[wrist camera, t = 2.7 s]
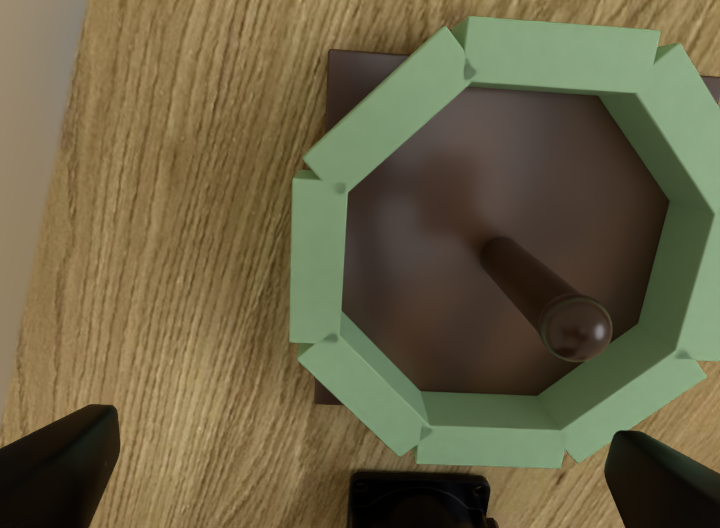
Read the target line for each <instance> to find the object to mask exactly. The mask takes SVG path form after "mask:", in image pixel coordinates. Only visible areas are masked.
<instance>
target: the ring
mask: <svg viewBox="0 0 720 528" xmlns="http://www.w3.org/2000/svg"><path fill="white" fill-rule="evenodd" d="M660 33H661V31H659V30H649V29H636V28H623V27H610V26H597V25H583V24H570V23H557V22H544V21H531V20H517V19H504V18H491V17H478V16H468V17H467V18H466V19H464V20H463V21H462V22H460V23H459V24H458V25H456V26H455V27H454V28H452V30H451V32H450V31H449V29H448V28H447V27H446V26H443V27H441V28H440V29H439V30H438V31H437V32H435V33H434V34H433V35H432V36H431V37H430V38H429V39H427V40H426V41H425V42H424V43H423V44H422V45H421V46H420V47H419V48H418V49H417V50H416V51H415V52H413V53H412V54H411V55H410V56H409V57H408V58H407V59H406V60H405V61H404V62H403V63H402V64H401V65H399V66H398V67H397V68H396V69H395V70H394V71H393V72H392V73H391V74H390V75H389V76H388V77H387V78H385V79H384V80H383V81H382V82H381V83H380V84H379V85H378V86H377V87H376V88H375V89H374V90H373V91H371V92H370V93H369V94H368V95H367V96H366V97H365V98H364V99H363V100H362V101H361V102H360V103H359V104H357V105H356V106H355V107H354V108H353V109H352V110H351V111H350V112H349V113H348V114H347V115H346V116H345V117H344V118H342V119H341V120H340V121H339V122H338V123H337V124H336V125H335V126H334V127H333V128H332V129H331V130H330V131H328V132H327V133H326V134H325V135H324V136H323V137H322V138H321V139H320V140H319V141H318V142H317V143H316V144H314V145H313V146H312V147H311V148H310V149H309V150H308V151H307V152H306V153H305V154H304V156H303V157H302V159H303V161H304V162H305V163H306V164H307V165H308V166H309V167H310V169H311V170H299V171H298V172H297V174H296V175H295V176H294V177H293V179H292V204H291V253H290V303H289V342H290V343H299V348H298V353H297V358H296V359H297V361H299V362H300V363H301V364H302V365H303V366H304V367H305V368H306V369H307V370H308V371H309V372H310V373H311V374H312V375H313V376H314V377H315V378H316V379H317V380H318V381H320V382H321V383H322V384H323V385H324V386H325V387H326V388H327V389H328V390H329V391H330V392H331V393H332V394H333V395H334V396H335V397H336V398H337V399H338V400H339V401H341V402H342V403H343V404H344V405H345V406H346V407H347V408H348V409H349V410H350V411H351V412H352V413H353V414H354V415H355V416H356V417H357V418H358V419H359V420H361V421H362V422H363V423H364V424H365V425H366V426H367V427H368V428H369V429H370V430H371V431H372V432H373V433H374V434H375V435H376V436H377V437H378V438H379V439H380V440H382V441H383V442H384V443H385V444H386V445H387V446H388V447H389V448H390V449H391V450H392V451H393V452H394V453H395V454H396V455H397V456H398V457H401V456H403V455H404V454H405V453H407V452H408V451H409V450H411V449H413V454H414V459H415V463H416V464H431V465H461V466H491V467H522V468H552V469H560V468H561V465H562V460H563V456H564V452H565V450H566V451H567V452H568V454H569V455H570V456H571V457H572V458H573V459H574V460H575V461H576V462H577V463H580V462H582V461H583V460H585V459H586V458H588V457H589V456H590V455H592V454H593V453H595V452H596V451H598V450H599V449H601V448H602V447H604V446H605V445H607V444H608V443H610V442H611V441H612V438H613V436H614V434H615V433H616V432H617V431H619V430H629V429H631V428H632V427H634V426H635V425H636V424H638V423H639V422H641V421H642V420H644V419H645V418H647V417H648V416H650V415H651V414H653V413H654V412H656V411H657V410H659V409H660V408H662V407H663V406H665V405H666V404H668V403H669V402H671V401H672V400H674V399H675V398H677V397H678V396H680V395H681V394H682V393H684V392H685V391H687V390H688V389H690V388H691V387H693V386H694V385H696V384H697V383H699V382H700V381H702V380H703V379H705V378H706V377H707V376H706V374H705V373H704V372H703V370H702V369H701V367H700V366H699V365H698V363H697V362H696V361H695V360H697V361H719V360H720V108H719V106H718V105H717V103H716V101H715V100H714V98H713V96H712V95H711V93H710V92H709V90H708V88H707V87H706V85H705V83H704V82H703V80H702V78H701V77H700V75H699V73H698V72H697V70H696V68H695V67H694V65H693V64H692V62H691V60H690V59H689V57H688V55H687V54H686V52H685V50H684V49H683V47H682V45H681V44H680V43H675V44H670V45H665V46H660V47H657V46H658V41H659V37H660ZM466 87H481V88H496V89H510V90H525V91H539V92H554V93H568V94H583V95H597V96H599V98H600V99H601V101H602V102H603V104H604V105H605V107H606V108H607V110H608V111H609V113H610V114H611V116H612V117H613V118H614V120H615V121H616V123H617V124H618V126H619V127H620V129H621V130H622V132H623V133H624V135H625V136H626V138H627V139H628V141H629V142H630V143H631V145H632V146H633V148H634V149H635V151H636V152H637V154H638V155H639V157H640V158H641V160H642V161H643V163H644V164H645V166H646V167H647V169H648V170H649V171H650V173H651V174H652V176H653V177H654V179H655V180H656V182H657V183H658V185H659V186H660V188H661V189H662V191H663V192H664V194H665V195H666V196H667V198H668V199H669V201H670V202H669V206H668V210H667V214H666V217H665V221H664V225H663V229H662V233H661V237H660V241H659V244H658V248H657V252H656V256H655V260H654V264H653V268H652V271H651V275H650V279H649V283H648V287H647V291H646V295H645V298H644V302H643V306H642V310H641V314H640V318H639V322H638V324H636V325H635V326H634V327H632V328H631V329H630V330H628V331H627V332H625V333H624V334H623V335H621V336H620V337H618V338H617V339H616V340H614V341H613V342H611V343H610V344H609V345H608V346H607V348H606V349H605V350H604V351H603V352H602V353H601V354H600V355H599V356H597V357H595V358H593V359H591V360H588V361H585V362H584V363H582V364H581V365H579V366H578V367H577V368H575V369H574V370H572V371H571V372H570V373H568V374H567V375H565V376H564V377H563V378H561V379H560V380H558V381H557V382H556V383H554V384H553V385H552V386H550V387H549V388H547V389H546V390H545V391H543V392H542V393H540V394H539V395H538V396H528V395H502V394H477V393H452V392H427V391H420V390H419V389H418V388H417V387H416V386H415V385H414V384H413V383H412V382H411V381H410V380H409V379H408V378H407V377H406V376H405V375H404V374H403V373H402V372H401V371H400V370H399V369H398V368H397V367H396V366H395V365H394V364H393V363H392V362H391V361H390V360H389V359H388V358H387V357H386V356H385V355H384V354H383V352H382V351H381V350H380V349H379V348H378V347H377V346H376V345H375V344H374V343H373V342H372V341H371V340H370V339H369V338H368V337H367V336H366V335H365V334H364V333H363V332H362V331H361V330H360V329H359V328H358V327H357V326H356V325H355V324H354V323H353V322H352V321H351V320H350V319H349V318H348V317H347V316H346V315H345V314H344V313H343V312H342V311H341V308H342V290H343V272H344V254H345V236H346V218H347V200H348V192H349V191H350V190H351V189H353V188H354V187H355V186H356V185H357V184H358V183H359V182H360V181H362V180H363V179H364V178H365V177H366V176H367V175H368V174H369V173H371V172H372V171H373V170H374V169H375V168H376V167H377V166H378V165H380V164H381V163H382V162H383V161H384V160H385V159H386V158H387V157H389V156H390V155H391V154H392V153H393V152H394V151H395V150H396V149H398V148H399V147H400V146H401V145H402V144H403V143H404V142H405V141H407V140H408V139H409V138H410V137H411V136H412V135H413V134H414V133H416V132H417V131H418V130H419V129H420V128H421V127H422V126H423V125H425V124H426V123H427V122H428V121H429V120H430V119H431V118H432V117H434V116H435V115H436V114H437V113H438V112H439V111H440V110H441V109H443V108H444V107H445V106H446V105H447V104H448V103H449V102H450V101H452V100H453V99H454V98H455V97H456V96H457V95H458V94H459V93H461V92H462V91H463V90H464V89H465V88H466Z"/></svg>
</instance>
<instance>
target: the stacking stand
mask: <svg viewBox="0 0 720 528" xmlns="http://www.w3.org/2000/svg"><path fill="white" fill-rule="evenodd" d="M409 56H410V55H407V54H393V53H379V52H365V51H351V50H337V49H330V50H329V51H328V74H327V99H326V124H325V134H326V133H327V132H328V131H330V130H331V129H332V128H333V127H334V126H335V125H336V124H337V123H338V122H339V121H340V120H341V119H342V118H344V117H345V116H346V115H347V114H348V113H349V112H350V111H351V110H352V109H353V108H354V107H355V106H356V105H357V104H359V103H360V102H361V101H362V100H363V99H364V98H365V97H366V96H367V95H368V94H369V93H370V92H371V91H373V90H374V89H375V88H376V87H377V86H378V85H379V84H380V83H381V82H382V81H383V80H384V79H385V78H387V77H388V76H389V75H390V74H391V73H392V72H393V71H394V70H395V69H396V68H397V67H398V66H399V65H401V64H402V63H403V62H404V61H405V60H406V59H407V58H408V57H409ZM700 77H701V78H702V80H703V82H704V83H705V85H706V87H707V88H708V90H709V92H710V93H711V95H712V96H713V98H714V100H715V101H716V103H717V105H718V101H719V98H720V77H714V76H700ZM669 202H670V201H669V199H668V198H667V196H666V195H665V194H664V192H663V191H662V189H661V188H660V186H659V185H658V183H657V182H656V180H655V179H654V177H653V176H652V174H651V173H650V171H649V170H648V169H647V167H646V166H645V164H644V163H643V161H642V160H641V158H640V157H639V155H638V154H637V152H636V151H635V149H634V148H633V146H632V145H631V143H630V142H629V141H628V139H627V138H626V136H625V135H624V133H623V132H622V130H621V129H620V127H619V126H618V124H617V123H616V121H615V120H614V118H613V117H612V116H611V114H610V113H609V111H608V110H607V108H606V107H605V105H604V104H603V102H602V101H601V99H600V98H599V96H597V95H583V94H568V93H554V92H539V91H525V90H510V89H496V88H481V87H466V88H465V89H464V90H463V91H462V92H461V93H459V94H458V95H457V96H456V97H455V98H454V99H453V100H452V101H450V102H449V103H448V104H447V105H446V106H445V107H444V108H443V109H441V110H440V111H439V112H438V113H437V114H436V115H435V116H434V117H432V118H431V119H430V120H429V121H428V122H427V123H426V124H425V125H423V126H422V127H421V128H420V129H419V130H418V131H417V132H416V133H414V134H413V135H412V136H411V137H410V138H409V139H408V140H407V141H405V142H404V143H403V144H402V145H401V146H400V147H399V148H398V149H396V150H395V151H394V152H393V153H392V154H391V155H390V156H389V157H387V158H386V159H385V160H384V161H383V162H382V163H381V164H380V165H378V166H377V167H376V168H375V169H374V170H373V171H372V172H371V173H369V174H368V175H367V176H366V177H365V178H364V179H363V180H362V181H360V182H359V183H358V184H357V185H356V186H355V187H354V188H353V189H351V190H350V191H349V192H348V200H347V218H346V236H345V254H344V272H343V290H342V308H341V311H342V312H343V313H344V314H345V315H346V316H347V317H348V318H349V319H350V320H351V321H352V322H353V323H354V324H355V325H356V326H357V327H358V328H359V329H360V330H361V331H362V332H363V333H364V334H365V335H366V336H367V337H368V338H369V339H370V340H371V341H372V342H373V343H374V344H375V345H376V346H377V347H378V348H379V349H380V350H381V351H382V352H383V354H384V355H385V356H386V357H387V358H388V359H389V360H390V361H391V362H392V363H393V364H394V365H395V366H396V367H397V368H398V369H399V370H400V371H401V372H402V373H403V374H404V375H405V376H406V377H407V378H408V379H409V380H410V381H411V382H412V383H413V384H414V385H415V386H416V387H417V388H418V389H419V390H420V391H427V392H452V393H477V394H502V395H528V396H538V395H539V394H540V393H542V392H543V391H545V390H546V389H547V388H549V387H550V386H552V385H553V384H554V383H556V382H557V381H558V380H560V379H561V378H563V377H564V376H565V375H567V374H568V373H570V372H571V371H572V370H574V369H575V368H577V367H578V366H579V365H581V364H582V363H584V362H585V361H588V360H591V359H593V358H595V357H597V356H599V355H600V354H601V353H602V352H603V351H604V350H605V349H606V348H607V346H608V345H609V344H610V343H611V342H613V341H614V340H616V339H617V338H618V337H620V336H621V335H623V334H624V333H625V332H627V331H628V330H630V329H631V328H632V327H634V326H635V325H636V324H638V322H639V318H640V314H641V310H642V306H643V302H644V298H645V295H646V291H647V287H648V283H649V279H650V275H651V271H652V268H653V264H654V260H655V256H656V252H657V248H658V244H659V241H660V237H661V233H662V229H663V225H664V221H665V217H666V214H667V210H668V206H669ZM314 402H315V404H325V405H344V404H343V403H342V402H341V401H339V400H338V399H337V398H336V397H335V396H334V395H333V394H332V393H331V392H330V391H329V390H328V389H327V388H326V387H325V386H324V385H323V384H322V383H321V382H320V381H318V380H317V379H316V378H315V401H314Z"/></svg>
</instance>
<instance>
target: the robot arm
mask: <svg viewBox="0 0 720 528" xmlns="http://www.w3.org/2000/svg"><path fill="white" fill-rule="evenodd" d="M119 453H120V433H119V422H118V413H117V409H116V408H115V407H114V406H113V405H101V404H90V405H88V406H85V407H83V408H81V409H79V410H77V411H75V412H73V413H71V414H69V415H67V416H65V417H63V418H61V419H59V420H57V421H55V422H53V423H51V424H49V425H47V426H45V427H43V428H41V429H39V430H37V431H35V432H33V433H31V434H29V435H27V436H25V437H23V438H21V439H19V440H17V441H15V442H13V443H11V444H9V445H7V446H5V447H3V448H1V449H0V528H89V526H90V523H91V521H92V519H93V516H94V514H95V512H96V509H97V507H98V505H99V502H100V500H101V498H102V495H103V493H104V491H105V488H106V486H107V483H108V481H109V479H110V476H111V474H112V472H113V469H114V467H115V465H116V462H117V460H118V457H119ZM604 472H605V478H606V482H607V484H608V487H609V489H610V492H611V494H612V496H613V499H614V501H615V504H616V506H617V508H618V511H619V513H620V516H621V518H622V520H623V523H624V525H625V528H720V474H719V473H717V472H715V471H713V470H711V469H709V468H708V467H706V466H704V465H702V464H700V463H698V462H697V461H695V460H693V459H691V458H689V457H687V456H685V455H684V454H682V453H680V452H678V451H676V450H674V449H672V448H671V447H669V446H667V445H665V444H663V443H661V442H660V441H658V440H656V439H654V438H652V437H650V436H648V435H647V434H645V433H643V432H640V431H628V430H619V431H617V432H616V433H615V434H614V436H613V438H612V442H611V445H610V449H609V453H608V456H607V460H606V463H605V470H604ZM358 483H364V484H363V485H357V484H358ZM479 486H481V488H479V489H475V488H477V487H479ZM489 496H490V486H489V483H488V481H487V479H486V478H484V477H483V476H471V475H440V474H409V473H378V472H357V473H355V474H353V475H352V476H351V477H350V481H349V496H348V510H347V525H346V528H499V526H498V524H497V522H496V521H495V520H494V519H493V518H486V513H487V508H488V502H489Z"/></svg>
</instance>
